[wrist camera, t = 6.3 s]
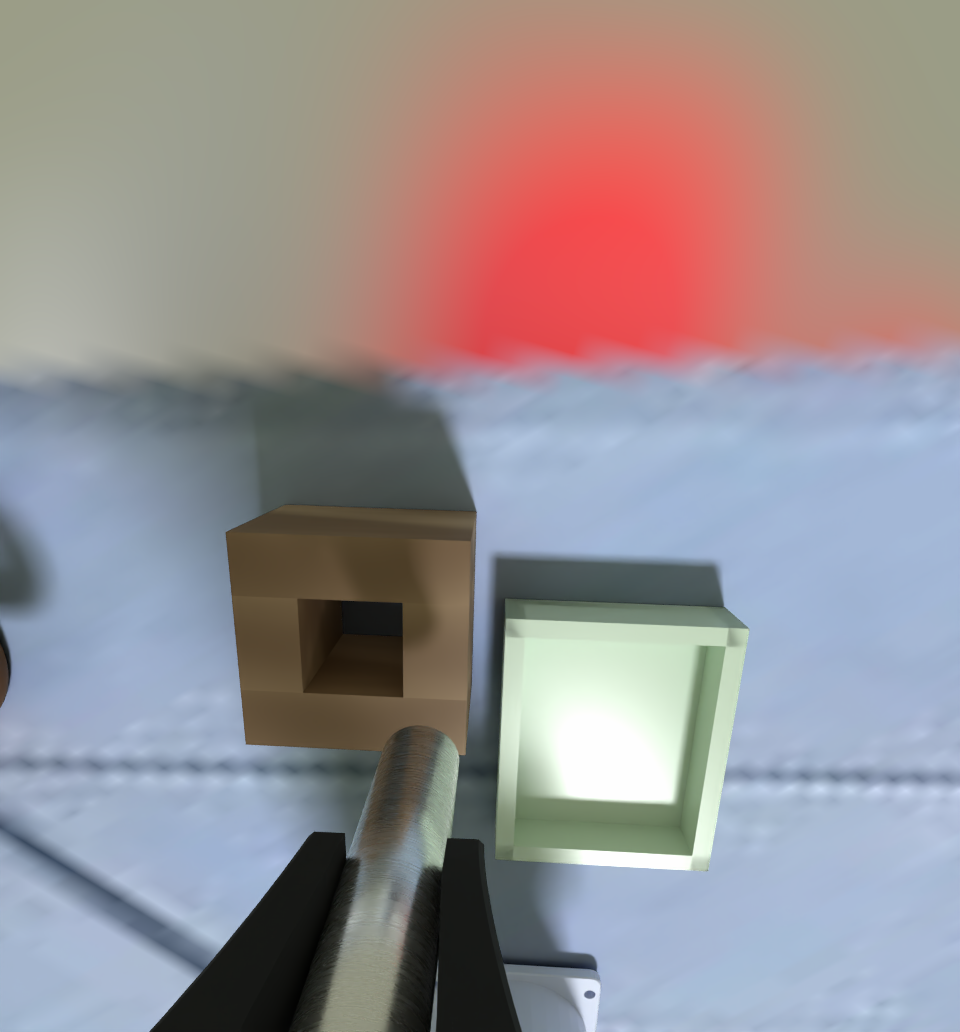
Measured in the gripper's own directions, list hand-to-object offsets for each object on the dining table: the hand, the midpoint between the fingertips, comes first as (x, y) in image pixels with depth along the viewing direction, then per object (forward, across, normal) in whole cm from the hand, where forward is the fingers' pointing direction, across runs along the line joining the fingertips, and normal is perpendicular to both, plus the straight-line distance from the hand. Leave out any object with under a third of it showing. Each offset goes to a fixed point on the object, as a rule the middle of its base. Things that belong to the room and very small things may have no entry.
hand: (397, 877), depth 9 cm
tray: (+10, -6, +4) cm, 12 cm away
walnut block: (+10, +3, -2) cm, 10 cm away
